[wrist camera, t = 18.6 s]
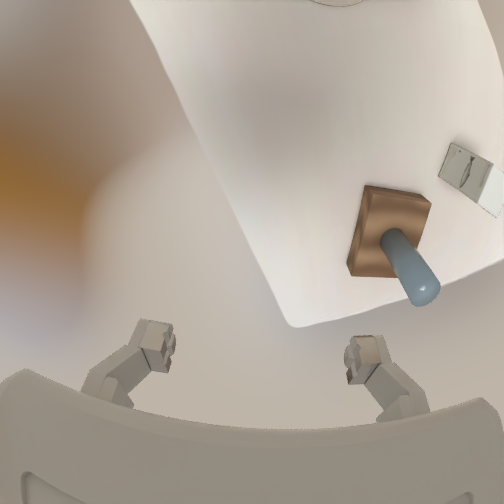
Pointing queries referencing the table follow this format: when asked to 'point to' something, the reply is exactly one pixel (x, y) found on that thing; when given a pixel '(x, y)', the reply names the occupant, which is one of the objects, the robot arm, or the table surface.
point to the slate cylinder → (410, 267)
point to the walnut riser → (384, 228)
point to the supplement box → (475, 178)
